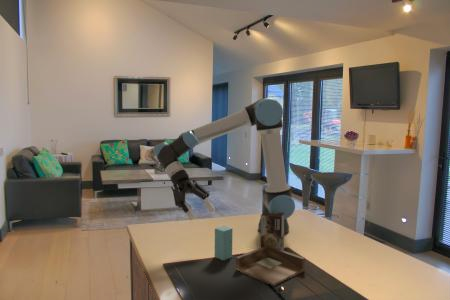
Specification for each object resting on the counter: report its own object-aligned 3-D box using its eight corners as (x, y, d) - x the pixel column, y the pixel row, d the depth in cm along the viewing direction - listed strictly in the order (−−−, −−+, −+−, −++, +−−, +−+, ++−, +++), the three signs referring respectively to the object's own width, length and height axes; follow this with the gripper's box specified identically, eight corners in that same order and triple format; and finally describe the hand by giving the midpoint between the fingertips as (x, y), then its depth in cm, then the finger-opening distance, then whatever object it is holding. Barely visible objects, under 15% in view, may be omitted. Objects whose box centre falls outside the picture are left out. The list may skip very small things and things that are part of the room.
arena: (267, 257, 155) (267, 245, 154) (304, 270, 142) (304, 258, 142) (235, 270, 143) (236, 257, 142) (273, 286, 130) (274, 272, 129)
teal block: (223, 253, 158) (223, 225, 157) (232, 257, 155) (232, 228, 153) (214, 257, 155) (214, 228, 153) (223, 260, 151) (223, 231, 150)
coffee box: (284, 249, 164) (285, 212, 162) (281, 254, 158) (282, 216, 156) (263, 246, 166) (264, 210, 165) (259, 251, 160) (260, 214, 159)
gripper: (190, 175, 178) (215, 213, 171) (151, 183, 157) (178, 226, 150) (200, 165, 174) (225, 204, 167) (161, 172, 154) (188, 216, 147)
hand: (203, 214), depth 159 cm, fingers open, 13 cm apart
